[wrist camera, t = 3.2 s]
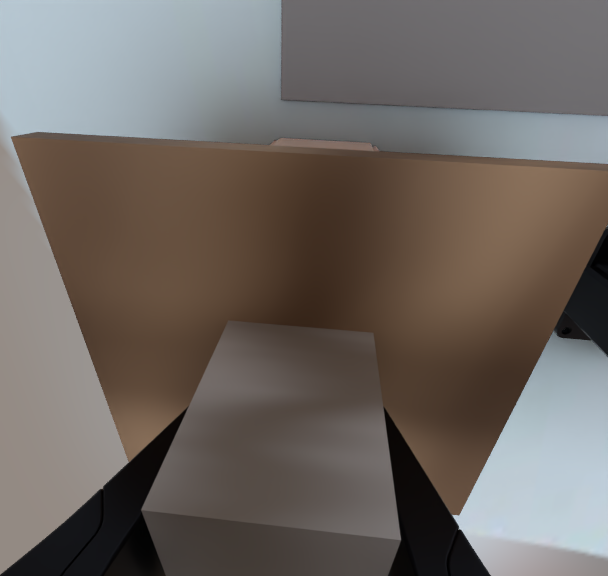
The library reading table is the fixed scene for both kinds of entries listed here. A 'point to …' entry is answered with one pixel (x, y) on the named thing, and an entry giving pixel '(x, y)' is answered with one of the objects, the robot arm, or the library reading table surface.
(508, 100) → the mat
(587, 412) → the library reading table surface
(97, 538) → the robot arm
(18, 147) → the lid
